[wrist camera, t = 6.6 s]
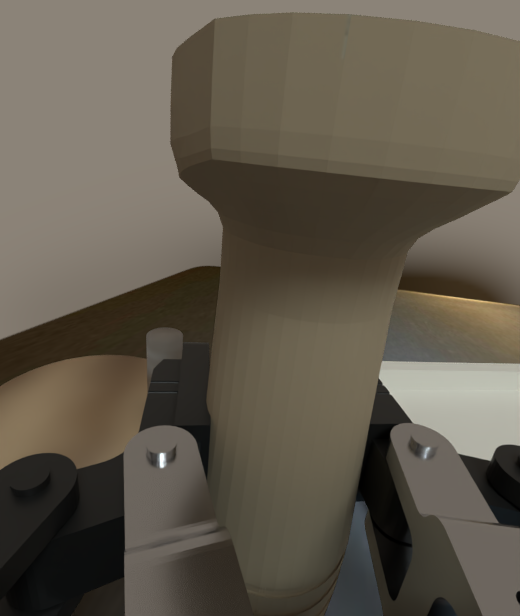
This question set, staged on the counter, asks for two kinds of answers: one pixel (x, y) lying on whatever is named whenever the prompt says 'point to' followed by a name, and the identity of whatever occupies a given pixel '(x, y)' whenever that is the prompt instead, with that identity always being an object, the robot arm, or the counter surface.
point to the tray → (460, 401)
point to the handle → (322, 249)
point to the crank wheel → (81, 404)
